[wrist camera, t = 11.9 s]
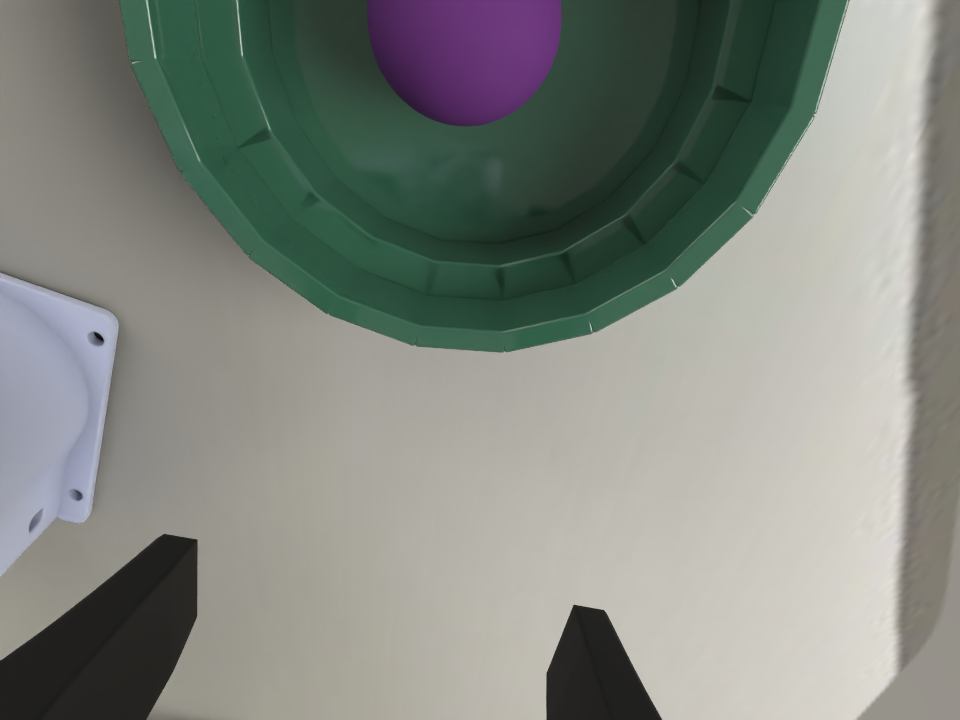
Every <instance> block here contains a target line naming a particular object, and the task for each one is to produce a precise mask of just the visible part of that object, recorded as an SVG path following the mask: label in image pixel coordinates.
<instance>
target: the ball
mask: <svg viewBox="0 0 960 720" xmlns="http://www.w3.org/2000/svg"><path fill="white" fill-rule="evenodd" d="M367 23H368V31H369V38H370V42H371V46H372V50H373V53H374V56H375V59H376V62H377V64H378V66H379V68H380V70H381V72H382V74H383V76H384V77H385V79H386V81H387V82H388V84H389V85H390V87H391V88H392V89H393V90H394V91H395V93H396V94H397V95H398V96H399V97H400V98H401V99H402V100H403V101H404V102H405V103H406V104H407V105H409V106H410V107H411V108H413V109H414V110H415V111H417V112H418V113H420V114H422V115H423V116H425V117H427V118H429V119H432V120H434V121H437V122H440V123H443V124H448V125H453V126H465V127H468V126H479V125H484V124H489V123H492V122H494V121H497V120H500V119H502V118H504V117H506V116H508V115H509V114H511V113H513V112H514V111H516V110H517V109H518V108H520V107H521V106H522V105H523V104H524V103H525V102H527V101H528V100H529V99H530V98H531V97H532V96H533V94H534V93H535V92H536V91H537V90H538V88H539V87H540V86H541V84H542V83H543V81H544V79H545V78H546V76H547V74H548V72H549V70H550V68H551V66H552V64H553V61H554V58H555V56H556V53H557V49H558V45H559V40H560V34H561V24H562V6H561V0H368V5H367Z"/></svg>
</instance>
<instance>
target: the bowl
mask: <svg viewBox="0 0 960 720" xmlns="http://www.w3.org/2000/svg"><path fill="white" fill-rule="evenodd" d="M849 1H850V0H561V6H562V24H561V34H560V40H559V45H558V49H557V53H556V56H555V58H554V61H553V64H552V66H551V68H550V70H549V72H548V74H547V76H546V78H545V79H544V81H543V83H542V84H541V86H540V87H539V88H538V90H537V91H536V92H535V93H534V94H533V96H532V97H531V98H530V99H529V100H528V101H527V102H525V103H524V104H523V105H522V106H521V107H520V108H518V109H517V110H516V111H514V112H513V113H511V114H509V115H508V116H506V117H504V118H502V119H500V120H497V121H494V122H492V123H489V124H484V125H479V126H468V127H465V126H453V125H448V124H443V123H440V122H437V121H434V120H432V119H429V118H427V117H425V116H423V115H422V114H420V113H418V112H417V111H415V110H414V109H413V108H411V107H410V106H409V105H407V104H406V103H405V102H404V101H403V100H402V99H401V98H400V97H399V96H398V95H397V94H396V93H395V91H394V90H393V89H392V88H391V87H390V85H389V84H388V82H387V81H386V79H385V77H384V76H383V74H382V72H381V70H380V68H379V66H378V64H377V62H376V59H375V56H374V53H373V50H372V46H371V42H370V38H369V31H368V23H367V5H368V0H119V3H120V9H121V15H122V21H123V27H124V33H125V39H126V45H127V51H128V57H129V60H130V61H131V62H132V63H131V67H132V69H133V71H134V73H135V76H136V78H137V80H138V82H139V85H140V87H141V89H142V91H143V93H144V96H145V98H146V100H147V102H148V104H149V107H150V109H151V111H152V113H153V115H154V118H155V120H156V122H157V124H158V127H159V129H160V131H161V133H162V135H163V138H164V140H165V142H166V144H167V146H168V149H169V151H170V153H171V155H172V157H173V160H174V162H175V164H176V166H177V169H178V170H179V171H181V175H182V176H183V178H184V179H185V180H186V181H187V183H188V184H189V185H190V186H191V187H192V189H193V190H194V191H195V192H196V194H197V195H198V196H199V197H200V199H201V200H202V201H203V202H204V203H205V205H206V206H207V207H208V208H209V210H210V211H211V212H212V213H213V215H214V216H215V217H216V218H217V219H218V221H219V222H220V223H221V224H222V226H223V227H224V228H225V229H226V231H227V232H228V233H229V234H230V235H231V237H232V238H233V239H234V240H235V242H236V243H237V244H238V245H239V247H240V248H241V249H242V250H243V251H244V253H245V254H246V255H249V258H250V259H251V260H252V261H254V262H255V263H257V264H258V265H259V266H261V267H262V268H264V269H265V270H266V271H268V272H269V273H270V274H272V275H273V276H275V277H276V278H277V279H279V280H280V281H282V282H283V283H284V284H286V285H287V286H289V287H290V288H291V289H293V290H294V291H295V292H297V293H298V294H300V295H301V296H302V297H304V298H305V299H307V300H308V301H309V302H311V303H312V304H313V305H315V306H316V307H318V308H319V309H320V310H322V311H323V312H325V313H326V314H328V313H329V315H330V316H333V317H336V318H339V319H341V320H344V321H347V322H350V323H352V324H355V325H358V326H360V327H363V328H366V329H369V330H371V331H374V332H377V333H380V334H382V335H385V336H388V337H390V338H393V339H396V340H399V341H401V342H404V343H407V344H410V345H412V346H414V345H416V346H417V347H431V348H445V349H459V350H474V351H488V352H504V351H505V352H510V351H515V350H520V349H524V348H529V347H533V346H538V345H543V344H547V343H552V342H557V341H561V340H566V339H571V338H575V337H580V336H584V335H589V334H592V333H593V332H597V331H599V330H601V329H603V328H605V327H607V326H609V325H610V324H612V323H614V322H616V321H618V320H620V319H622V318H624V317H625V316H627V315H629V314H631V313H633V312H635V311H637V310H638V309H640V308H642V307H644V306H646V305H648V304H650V303H652V302H653V301H655V300H657V299H659V298H661V297H663V296H665V295H666V294H668V293H670V292H672V291H674V290H676V289H677V288H678V286H679V287H680V286H681V285H682V284H683V283H684V282H686V281H687V280H688V279H689V278H690V277H691V276H692V275H693V274H694V273H695V272H696V271H697V270H698V269H699V268H700V267H701V266H702V265H703V264H704V263H705V262H706V261H708V260H709V259H710V258H711V257H712V256H713V255H714V254H715V253H716V252H717V251H718V250H719V249H720V248H721V247H722V246H723V245H724V244H725V243H726V242H727V241H729V240H730V239H731V238H732V237H733V236H734V235H735V234H736V233H737V232H738V231H739V230H740V229H741V228H742V227H743V226H744V225H745V224H746V223H747V222H748V221H749V220H751V219H752V218H753V216H754V215H753V214H756V213H757V211H758V210H759V208H760V206H761V205H762V203H763V201H764V200H765V198H766V196H767V195H768V193H769V192H770V190H771V188H772V187H773V185H774V183H775V182H776V180H777V178H778V177H779V175H780V173H781V172H782V170H783V168H784V167H785V165H786V164H787V162H788V160H789V159H790V157H791V155H792V154H793V152H794V150H795V149H796V147H797V145H798V144H799V142H800V141H801V139H802V137H803V136H804V134H805V132H806V131H807V129H808V127H809V126H810V124H811V122H812V121H813V119H814V117H815V116H814V114H816V112H817V110H818V106H819V103H820V99H821V96H822V93H823V89H824V86H825V82H826V79H827V76H828V72H829V69H830V65H831V62H832V58H833V55H834V52H835V48H836V45H837V41H838V38H839V35H840V31H841V28H842V24H843V21H844V18H845V14H846V11H847V7H848V4H849Z"/></svg>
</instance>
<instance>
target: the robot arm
mask: <svg viewBox="0 0 960 720" xmlns="http://www.w3.org/2000/svg"><path fill="white" fill-rule="evenodd" d="M118 330H119V324H118V320H117V318H116V317H115V316H114V315H113V314H112V313H111V312H110V311H108V310H106V309H103V308H100V307H98V306H95V305H92V304H89V303H86V302H83V301H80V300H77V299H75V298H72V297H69V296H66V295H63V294H60V293H57V292H54V291H52V290H49V289H46V288H43V287H40V286H37V285H34V284H31V283H29V282H26V281H23V280H20V279H17V278H14V277H11V276H9V275H6V274H3V273H0V577H1V576H2V575H3V574H4V573H5V572H6V571H7V569H8V568H9V567H10V566H11V565H12V564H13V563H14V562H15V561H16V560H17V559H18V558H19V557H20V556H21V555H22V554H23V553H24V551H25V550H26V549H27V548H28V547H29V546H30V545H31V544H32V543H33V542H34V541H35V540H36V539H37V538H38V537H39V536H40V535H41V533H42V532H43V531H44V530H45V529H46V528H47V527H48V526H49V525H50V524H51V523H52V522H53V521H54V520H55V519H56V518H58V519H61V520H65V521H68V522H72V523H82V522H84V521H85V520H86V519H87V518H88V517H89V516H90V514H91V512H92V505H93V498H94V491H95V485H96V478H97V471H98V464H99V458H100V451H101V444H102V437H103V431H104V424H105V417H106V410H107V404H108V397H109V390H110V383H111V377H112V370H113V363H114V357H115V350H116V343H117V336H118ZM95 332H97V333H99V334H100V335H101V336H102V337H103V339H104V341H101V340H99V339H98V338H97V337H96V336H95ZM76 490H77V491H79V492H80V493H79V492H77V491H76ZM196 618H197V540H196V539H190V538H185V537H179V536H173V535H167V534H163V535H162V536H160V537H158V538H157V539H156V540H155V541H153V542H152V543H151V544H150V545H149V546H148V547H146V548H145V549H144V550H143V551H142V552H140V553H139V554H138V555H137V556H136V557H134V558H133V559H132V560H131V561H130V562H129V563H127V564H126V565H125V566H124V567H123V568H121V569H120V570H119V571H118V572H116V573H115V574H114V575H113V576H112V577H110V578H109V579H108V580H107V581H105V582H104V583H103V584H102V585H100V586H99V587H98V588H97V589H96V590H94V591H93V592H92V593H91V594H89V595H88V596H87V597H85V598H84V599H83V600H82V601H80V602H79V603H78V604H76V605H75V606H74V607H73V608H71V609H70V610H69V611H67V612H66V613H65V614H64V615H62V616H61V617H60V618H58V619H57V620H56V621H55V622H53V623H52V624H51V625H49V626H48V627H47V628H45V629H44V630H43V631H41V632H40V633H38V634H37V635H36V636H34V637H33V638H32V639H30V640H29V641H27V642H26V643H25V644H23V645H22V646H20V647H19V648H18V649H16V650H15V651H13V652H12V653H11V654H9V655H8V656H6V657H5V658H4V659H2V660H1V661H0V720H146V719H147V717H148V715H149V713H150V712H151V710H152V708H153V706H154V705H155V703H156V701H157V699H158V698H159V696H160V694H161V692H162V690H163V689H164V687H165V685H166V683H167V682H168V680H169V678H170V676H171V674H172V673H173V670H174V668H175V666H176V664H177V662H178V659H179V657H180V655H181V653H182V650H183V648H184V646H185V644H186V641H187V639H188V637H189V634H190V632H191V629H192V627H193V625H194V622H195V620H196ZM546 709H547V720H662V718H661V717H660V715H659V713H658V711H657V710H656V708H655V706H654V704H653V702H652V701H651V699H650V697H649V695H648V693H647V692H646V690H645V688H644V686H643V684H642V682H641V680H640V678H639V677H638V675H637V673H636V671H635V669H634V667H633V665H632V663H631V661H630V659H629V657H628V655H627V653H626V651H625V649H624V647H623V645H622V643H621V641H620V639H619V637H618V635H617V633H616V631H615V629H614V627H613V625H612V623H611V621H610V619H609V617H608V615H607V614H606V612H605V611H604V610H600V609H595V608H589V607H583V606H577V605H573V608H572V611H571V613H570V616H569V618H568V621H567V623H566V626H565V628H564V631H563V633H562V636H561V638H560V641H559V643H558V646H557V649H556V651H555V654H554V656H553V659H552V661H551V664H550V666H549V669H548V671H547V690H546Z"/></svg>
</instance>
